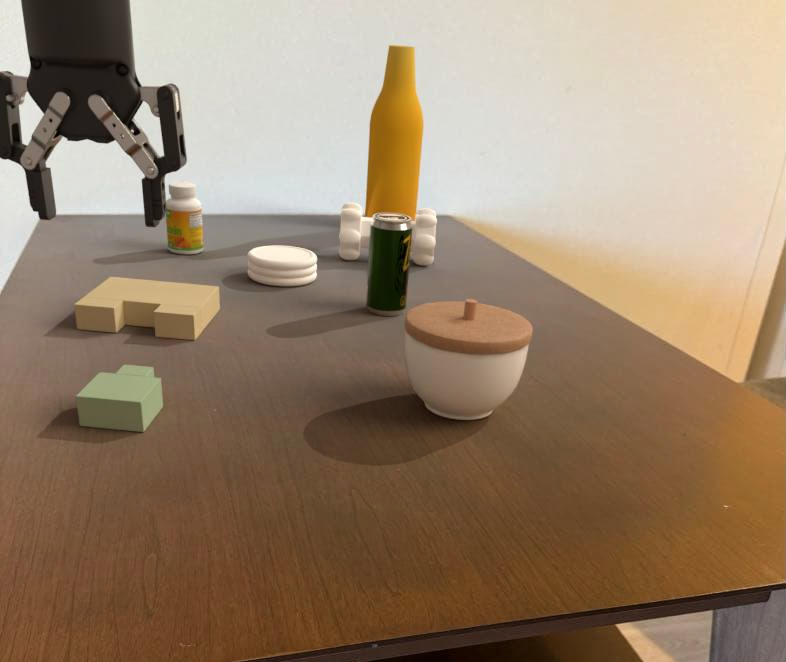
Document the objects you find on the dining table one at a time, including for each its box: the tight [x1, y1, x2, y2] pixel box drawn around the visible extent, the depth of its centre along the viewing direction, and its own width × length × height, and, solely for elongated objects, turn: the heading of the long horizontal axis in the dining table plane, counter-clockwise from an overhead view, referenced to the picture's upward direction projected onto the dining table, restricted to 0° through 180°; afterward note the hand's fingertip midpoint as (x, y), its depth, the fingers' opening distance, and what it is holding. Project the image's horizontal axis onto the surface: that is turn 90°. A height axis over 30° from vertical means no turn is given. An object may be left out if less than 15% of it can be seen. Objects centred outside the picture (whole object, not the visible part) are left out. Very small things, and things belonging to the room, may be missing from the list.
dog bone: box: [338, 202, 438, 267], centre depth 134 cm, size 15×9×8 cm, turn 90°
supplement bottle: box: [165, 181, 204, 256], centre depth 130 cm, size 5×5×10 cm
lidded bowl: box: [403, 298, 534, 421], centre depth 86 cm, size 13×13×11 cm
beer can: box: [365, 213, 413, 317], centre depth 111 cm, size 5×5×12 cm
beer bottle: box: [364, 44, 424, 221], centre depth 146 cm, size 9×9×29 cm
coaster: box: [246, 244, 318, 287], centre depth 123 cm, size 10×10×4 cm
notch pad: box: [73, 276, 221, 341], centre depth 104 cm, size 14×12×3 cm
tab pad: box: [75, 364, 164, 433], centre depth 81 cm, size 8×6×3 cm
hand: (100, 221), depth 70 cm, fingers open, 8 cm apart
